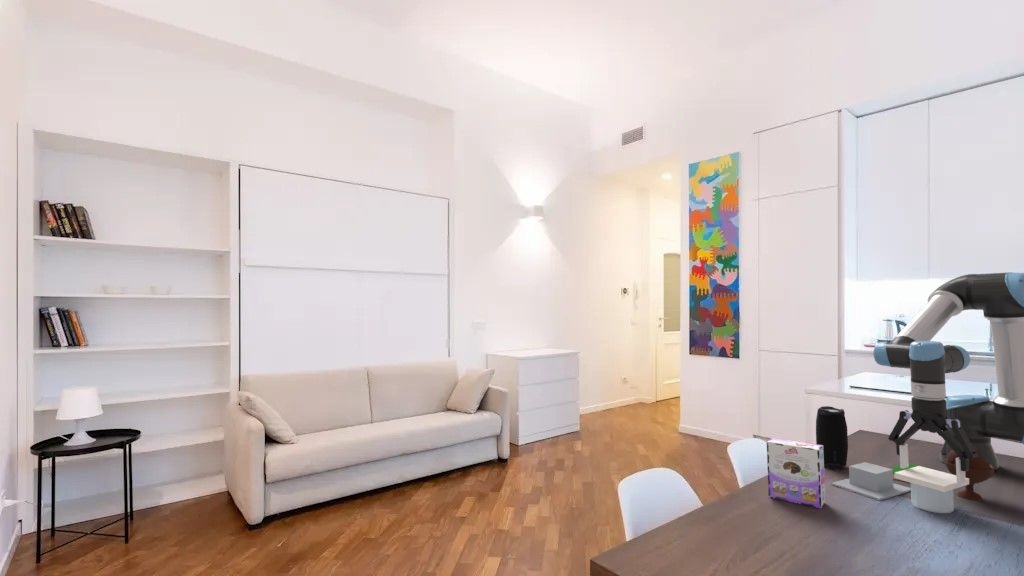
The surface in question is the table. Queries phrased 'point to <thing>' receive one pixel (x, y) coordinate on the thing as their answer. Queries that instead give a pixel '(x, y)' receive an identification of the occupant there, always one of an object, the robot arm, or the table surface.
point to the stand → (872, 481)
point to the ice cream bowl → (971, 473)
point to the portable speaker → (832, 436)
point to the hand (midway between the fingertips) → (931, 474)
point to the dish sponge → (902, 469)
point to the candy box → (796, 472)
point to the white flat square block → (930, 478)
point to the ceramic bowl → (931, 499)
